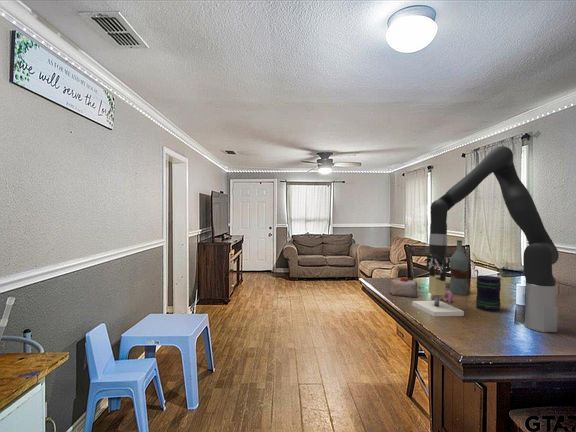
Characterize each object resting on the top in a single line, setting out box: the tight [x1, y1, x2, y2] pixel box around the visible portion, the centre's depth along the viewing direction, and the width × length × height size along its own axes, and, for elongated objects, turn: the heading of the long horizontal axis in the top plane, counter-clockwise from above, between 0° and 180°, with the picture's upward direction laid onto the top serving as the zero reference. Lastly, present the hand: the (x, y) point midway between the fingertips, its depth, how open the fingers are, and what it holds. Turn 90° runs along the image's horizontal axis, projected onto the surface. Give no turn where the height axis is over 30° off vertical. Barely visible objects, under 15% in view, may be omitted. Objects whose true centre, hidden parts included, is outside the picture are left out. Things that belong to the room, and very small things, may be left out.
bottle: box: [448, 239, 469, 296], centre depth 187 cm, size 9×9×30 cm
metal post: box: [433, 295, 440, 307], centre depth 152 cm, size 2×2×7 cm
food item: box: [390, 276, 418, 298], centre depth 180 cm, size 14×8×10 cm, turn 70°
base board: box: [411, 300, 465, 318], centre depth 152 cm, size 18×14×2 cm
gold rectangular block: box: [428, 274, 447, 296], centre depth 152 cm, size 5×5×8 cm
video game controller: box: [430, 289, 454, 304], centre depth 170 cm, size 10×5×7 cm, turn 47°
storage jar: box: [475, 275, 502, 313], centre depth 156 cm, size 10×10×15 cm
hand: (437, 279), depth 152 cm, fingers open, 8 cm apart
